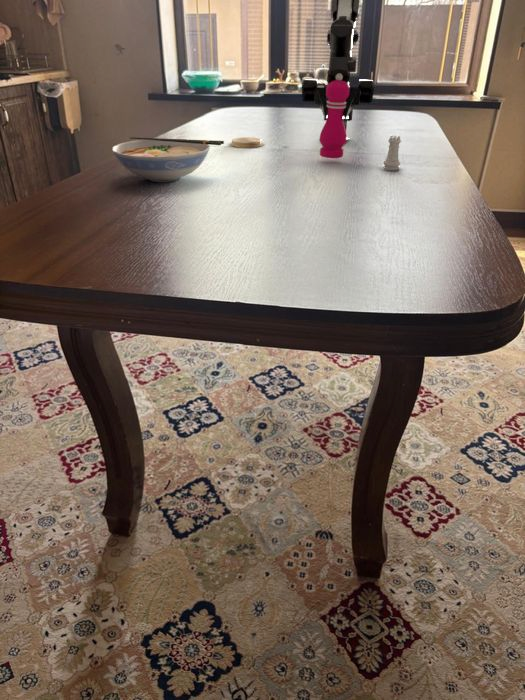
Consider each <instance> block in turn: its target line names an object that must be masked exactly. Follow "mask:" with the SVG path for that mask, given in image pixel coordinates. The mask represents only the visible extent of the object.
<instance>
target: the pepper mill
mask: <svg viewBox="0 0 525 700" xmlns="http://www.w3.org/2000/svg"><path fill="white" fill-rule="evenodd" d="M342 78H343V76H342V74H341V73H338V74H337V75H336V80H334V81H332V82H330V83H329V84H328V86H327V88H326V98H327V97H328V100H329V101H327V107H328V115H327V120H325V123H324V125H323V127H322V129H321V131H320V134H319V142H320V144H321V145H322V146H321V147H320V149H319V155H320V157H323V158H327V159H340V158H342V157H343V156H344V148H343V146H345V144H346V143H347V140H346V138H348V136H347V129H346V130H345V127H344V123H343V117H344V116H343V112H344V108H346V106H345V105H346V102H345V100H346V99H347V97H348V96H349V91H350V90H349V86H348V84H347V83H346V82H344V81H342Z"/></svg>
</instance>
